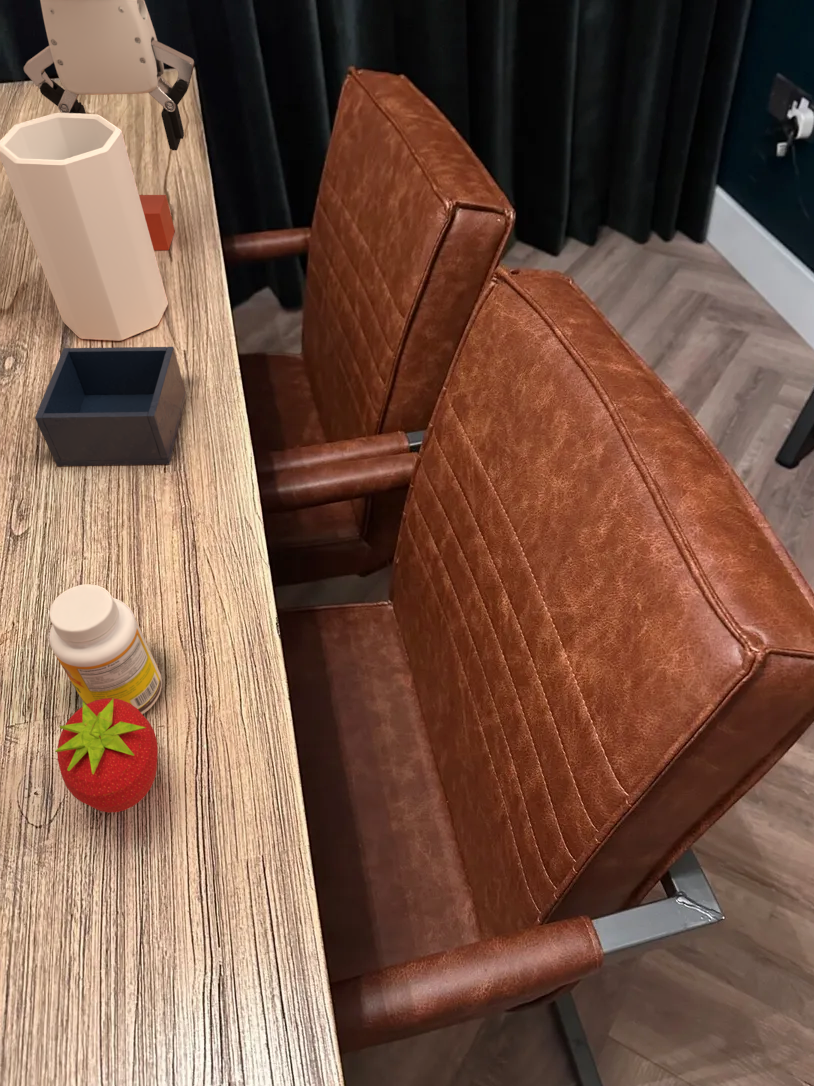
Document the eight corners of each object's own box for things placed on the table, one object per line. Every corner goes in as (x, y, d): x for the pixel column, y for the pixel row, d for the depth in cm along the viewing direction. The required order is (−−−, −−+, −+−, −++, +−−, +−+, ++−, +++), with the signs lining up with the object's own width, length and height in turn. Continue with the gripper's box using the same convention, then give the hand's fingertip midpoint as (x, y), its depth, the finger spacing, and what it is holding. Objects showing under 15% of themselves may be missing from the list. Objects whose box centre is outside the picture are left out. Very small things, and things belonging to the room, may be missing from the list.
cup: (162, 278, 99) (115, 104, 85) (175, 332, 93) (126, 153, 78) (60, 295, 97) (-6, 119, 83) (66, 351, 90) (-5, 170, 76)
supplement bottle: (88, 668, 65) (39, 579, 57) (164, 657, 66) (126, 568, 58) (83, 732, 62) (31, 647, 54) (163, 719, 62) (123, 633, 54)
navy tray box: (56, 466, 79) (34, 417, 75) (82, 396, 86) (63, 347, 81) (169, 464, 79) (154, 415, 75) (186, 394, 86) (173, 346, 82)
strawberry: (165, 733, 62) (126, 650, 54) (186, 825, 57) (147, 749, 50) (79, 761, 60) (26, 679, 52) (95, 858, 56) (39, 785, 48)
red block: (130, 250, 103) (119, 213, 100) (137, 231, 106) (127, 194, 102) (168, 250, 103) (159, 213, 100) (175, 231, 106) (166, 194, 103)
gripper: (177, -53, 85) (215, 129, 99) (-1, -50, 85) (61, 132, 98) (164, -28, 81) (205, 160, 94) (-24, -25, 80) (44, 163, 94)
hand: (132, 146), depth 96 cm, fingers open, 9 cm apart
